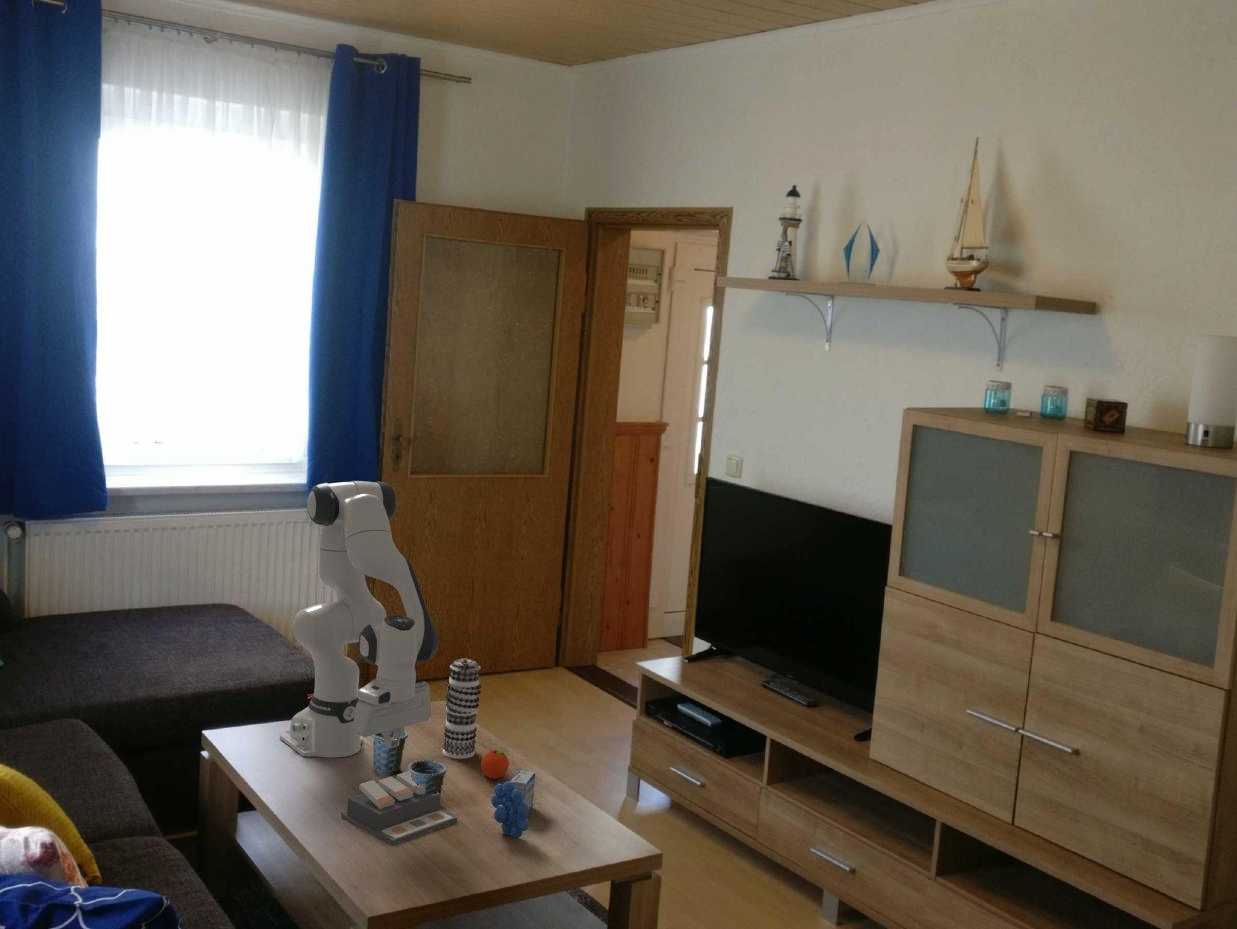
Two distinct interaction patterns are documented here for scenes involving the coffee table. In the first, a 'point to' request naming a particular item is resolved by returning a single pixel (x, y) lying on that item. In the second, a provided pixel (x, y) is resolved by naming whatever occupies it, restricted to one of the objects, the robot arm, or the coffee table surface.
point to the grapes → (510, 809)
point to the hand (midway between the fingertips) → (391, 746)
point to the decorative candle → (461, 709)
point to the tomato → (495, 764)
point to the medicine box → (525, 786)
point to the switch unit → (398, 816)
